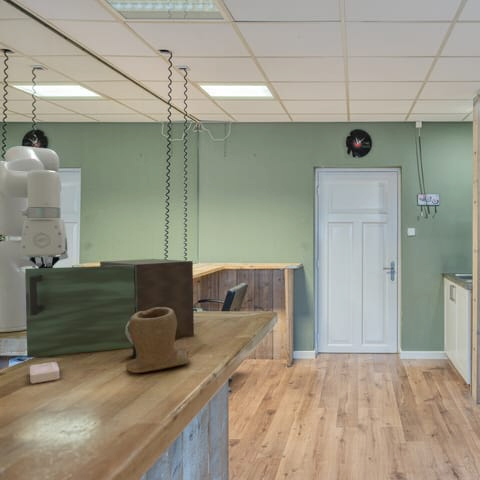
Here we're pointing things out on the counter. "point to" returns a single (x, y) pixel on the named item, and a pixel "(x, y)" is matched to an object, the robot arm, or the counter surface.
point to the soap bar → (44, 372)
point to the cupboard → (164, 289)
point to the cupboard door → (78, 309)
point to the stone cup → (155, 341)
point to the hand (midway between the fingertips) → (46, 280)
